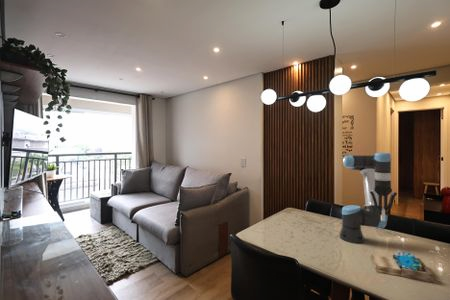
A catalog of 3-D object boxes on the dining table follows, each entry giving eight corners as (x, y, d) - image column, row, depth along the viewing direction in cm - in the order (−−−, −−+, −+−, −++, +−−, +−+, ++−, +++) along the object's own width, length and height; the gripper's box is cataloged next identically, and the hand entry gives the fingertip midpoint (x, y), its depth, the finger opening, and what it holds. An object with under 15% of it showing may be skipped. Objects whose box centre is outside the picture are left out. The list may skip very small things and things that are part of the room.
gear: (391, 263, 117) (397, 247, 120) (392, 267, 120) (398, 251, 123) (418, 275, 108) (424, 257, 111) (418, 279, 111) (424, 262, 114)
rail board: (376, 272, 113) (376, 264, 113) (370, 257, 128) (370, 250, 128) (433, 282, 104) (433, 274, 104) (419, 265, 118) (419, 258, 118)
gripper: (370, 180, 122) (370, 221, 122) (399, 181, 116) (399, 224, 117) (367, 178, 128) (368, 216, 129) (394, 179, 123) (394, 219, 124)
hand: (382, 220), depth 123 cm, fingers closed
